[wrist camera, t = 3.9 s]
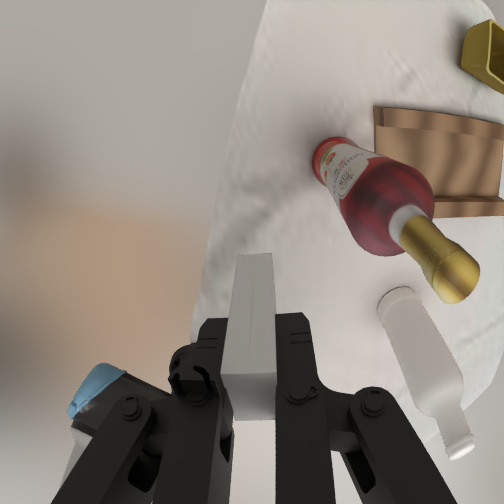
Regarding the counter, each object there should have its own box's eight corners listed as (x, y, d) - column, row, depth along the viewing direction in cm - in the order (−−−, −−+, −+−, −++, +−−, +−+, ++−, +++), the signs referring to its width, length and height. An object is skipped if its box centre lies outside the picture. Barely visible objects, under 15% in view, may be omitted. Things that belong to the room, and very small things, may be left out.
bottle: (396, 279, 44) (476, 436, 18) (423, 295, 46) (499, 433, 19) (368, 313, 48) (421, 471, 21) (396, 326, 49) (451, 466, 23)
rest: (373, 212, 39) (381, 221, 36) (373, 106, 32) (383, 107, 29) (494, 208, 37) (505, 216, 34) (501, 124, 30) (514, 127, 27)
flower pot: (487, 97, 29) (525, 102, 21) (448, 72, 28) (487, 71, 20) (493, 52, 24) (529, 51, 16) (454, 25, 24) (490, 17, 16)
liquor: (341, 198, 38) (442, 352, 14) (298, 168, 37) (365, 307, 12) (372, 156, 35) (523, 261, 11) (329, 123, 34) (470, 177, 9)
